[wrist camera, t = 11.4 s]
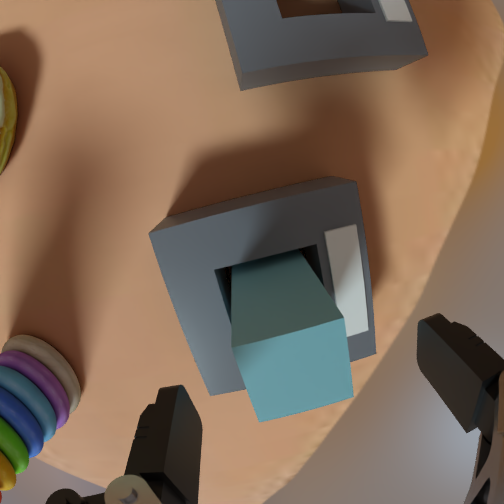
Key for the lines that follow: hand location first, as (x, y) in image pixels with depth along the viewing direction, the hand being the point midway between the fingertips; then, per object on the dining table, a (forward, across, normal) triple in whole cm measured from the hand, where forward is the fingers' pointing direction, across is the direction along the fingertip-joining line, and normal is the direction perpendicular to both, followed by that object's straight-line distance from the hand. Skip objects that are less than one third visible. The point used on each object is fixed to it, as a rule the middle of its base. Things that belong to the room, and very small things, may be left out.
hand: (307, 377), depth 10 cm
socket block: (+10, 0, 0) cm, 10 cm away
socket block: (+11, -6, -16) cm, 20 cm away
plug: (+10, 0, 0) cm, 10 cm away
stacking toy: (+10, +20, +4) cm, 23 cm away
